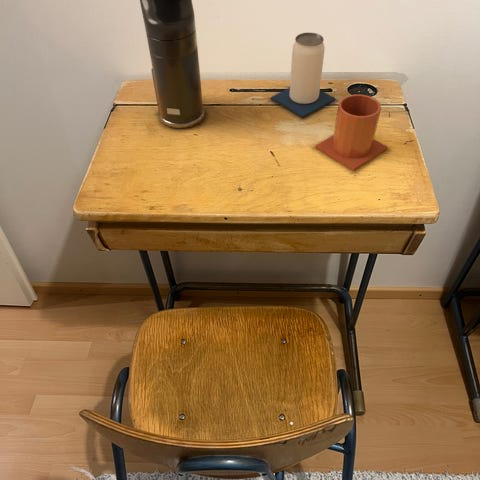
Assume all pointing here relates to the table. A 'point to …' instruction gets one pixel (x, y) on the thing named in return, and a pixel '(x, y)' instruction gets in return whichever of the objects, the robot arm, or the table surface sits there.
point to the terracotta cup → (355, 125)
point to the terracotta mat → (351, 162)
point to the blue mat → (302, 109)
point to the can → (306, 68)
